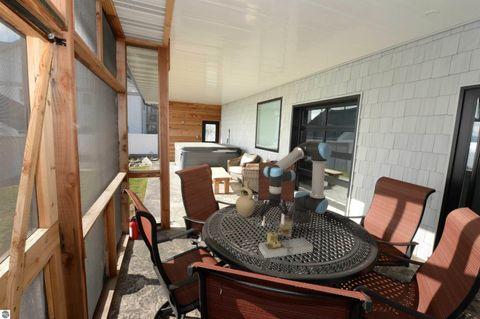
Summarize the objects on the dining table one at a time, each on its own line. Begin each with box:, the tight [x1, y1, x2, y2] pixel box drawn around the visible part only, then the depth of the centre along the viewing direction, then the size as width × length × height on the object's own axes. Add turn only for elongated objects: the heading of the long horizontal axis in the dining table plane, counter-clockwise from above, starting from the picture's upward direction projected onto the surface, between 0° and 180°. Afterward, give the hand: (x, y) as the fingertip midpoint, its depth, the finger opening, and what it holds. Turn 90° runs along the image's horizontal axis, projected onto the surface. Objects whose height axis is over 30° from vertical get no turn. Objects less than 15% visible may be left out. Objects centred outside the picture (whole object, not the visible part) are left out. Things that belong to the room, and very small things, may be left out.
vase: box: [235, 180, 257, 218], centre depth 189 cm, size 17×17×30 cm
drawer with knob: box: [269, 240, 281, 249], centre depth 135 cm, size 5×5×6 cm
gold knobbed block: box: [266, 231, 279, 242], centre depth 146 cm, size 5×5×6 cm
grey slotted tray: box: [258, 237, 314, 259], centre depth 137 cm, size 31×10×4 cm, turn 107°
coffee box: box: [277, 210, 294, 238], centre depth 158 cm, size 9×6×16 cm
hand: (272, 224), depth 145 cm, fingers open, 13 cm apart
